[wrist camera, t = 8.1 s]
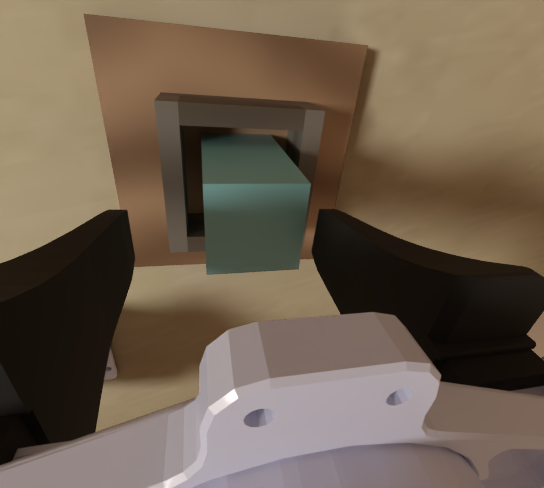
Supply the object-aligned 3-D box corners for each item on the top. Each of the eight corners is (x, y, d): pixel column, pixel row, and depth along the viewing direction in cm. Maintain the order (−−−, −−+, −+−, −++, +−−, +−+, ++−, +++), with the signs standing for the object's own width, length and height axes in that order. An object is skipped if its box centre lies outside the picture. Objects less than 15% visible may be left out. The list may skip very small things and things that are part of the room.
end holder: (319, 249, 25) (338, 282, 22) (134, 257, 22) (122, 296, 19) (358, 45, 18) (397, 45, 14) (91, 15, 15) (58, 6, 11)
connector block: (266, 197, 20) (298, 269, 14) (203, 197, 20) (206, 274, 13) (270, 134, 18) (310, 183, 12) (201, 132, 18) (202, 183, 11)
